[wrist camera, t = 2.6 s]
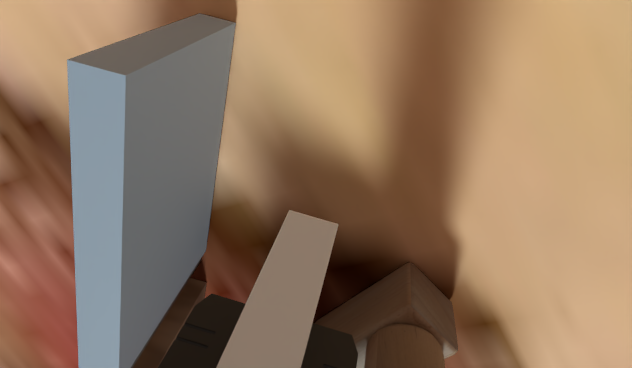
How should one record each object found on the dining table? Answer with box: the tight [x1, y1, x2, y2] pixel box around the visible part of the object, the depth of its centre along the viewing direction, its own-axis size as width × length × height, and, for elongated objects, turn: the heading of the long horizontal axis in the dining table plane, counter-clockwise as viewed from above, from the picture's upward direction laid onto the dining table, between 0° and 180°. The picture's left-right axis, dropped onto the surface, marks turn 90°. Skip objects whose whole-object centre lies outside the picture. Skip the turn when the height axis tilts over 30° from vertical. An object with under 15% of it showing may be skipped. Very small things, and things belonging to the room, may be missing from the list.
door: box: [67, 13, 236, 368], centre depth 19 cm, size 3×12×9 cm, turn 168°
